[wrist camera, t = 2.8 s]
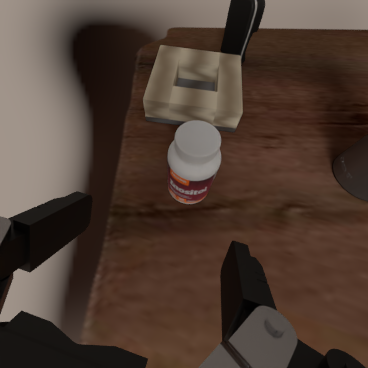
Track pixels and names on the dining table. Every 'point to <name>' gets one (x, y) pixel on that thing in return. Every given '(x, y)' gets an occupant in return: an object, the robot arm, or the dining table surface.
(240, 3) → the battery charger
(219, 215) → the dining table surface
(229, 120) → the socket block
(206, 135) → the pill bottle
